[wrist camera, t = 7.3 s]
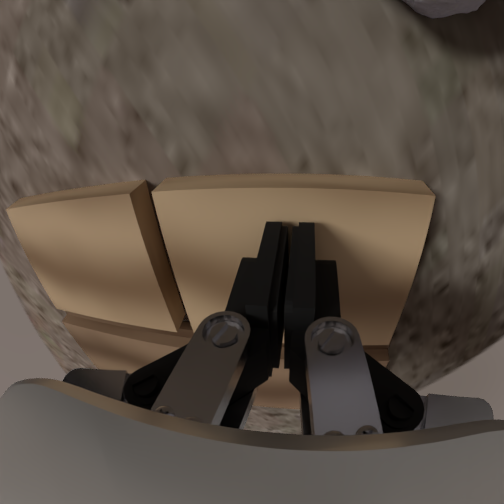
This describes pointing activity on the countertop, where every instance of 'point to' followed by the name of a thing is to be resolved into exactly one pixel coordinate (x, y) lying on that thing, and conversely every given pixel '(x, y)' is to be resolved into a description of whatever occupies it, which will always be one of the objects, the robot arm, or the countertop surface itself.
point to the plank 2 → (290, 214)
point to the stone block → (443, 7)
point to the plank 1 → (100, 253)
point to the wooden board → (164, 342)
